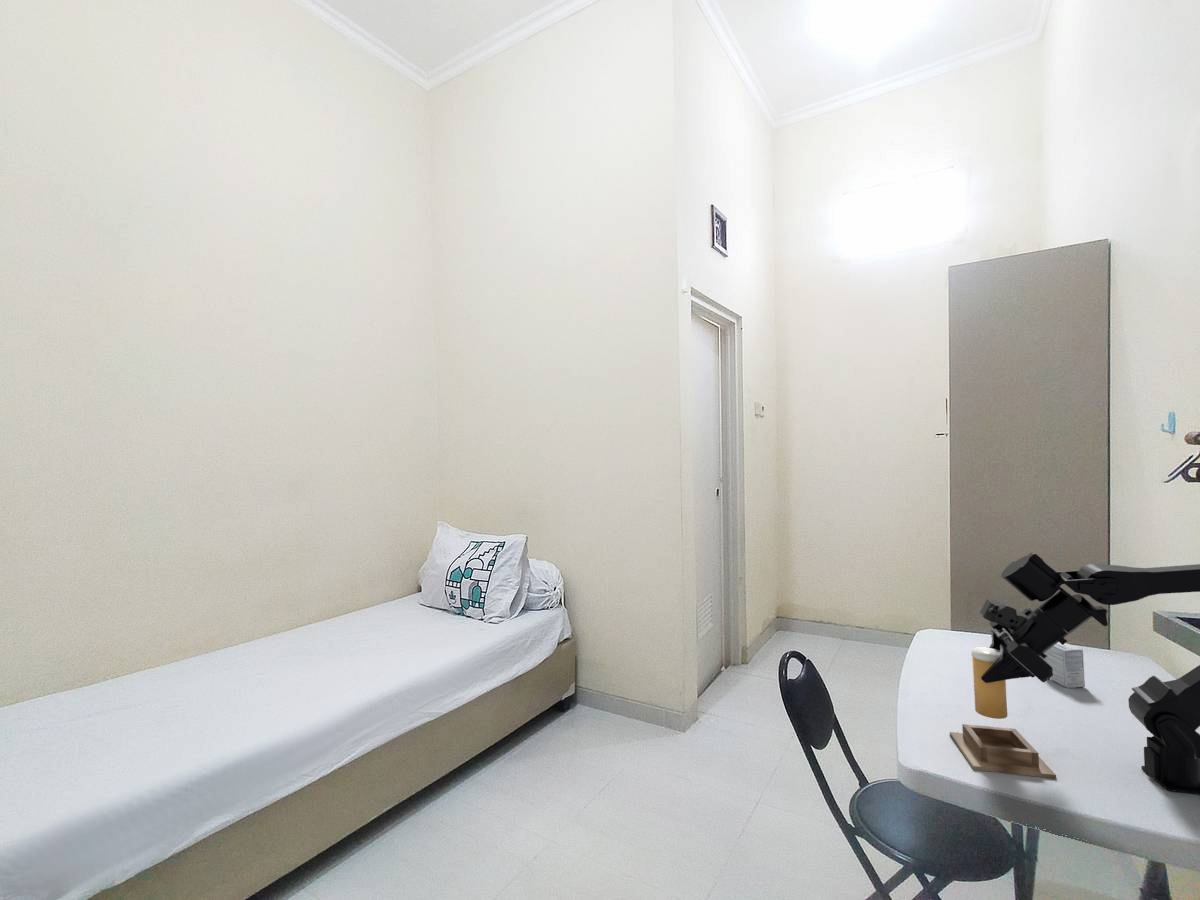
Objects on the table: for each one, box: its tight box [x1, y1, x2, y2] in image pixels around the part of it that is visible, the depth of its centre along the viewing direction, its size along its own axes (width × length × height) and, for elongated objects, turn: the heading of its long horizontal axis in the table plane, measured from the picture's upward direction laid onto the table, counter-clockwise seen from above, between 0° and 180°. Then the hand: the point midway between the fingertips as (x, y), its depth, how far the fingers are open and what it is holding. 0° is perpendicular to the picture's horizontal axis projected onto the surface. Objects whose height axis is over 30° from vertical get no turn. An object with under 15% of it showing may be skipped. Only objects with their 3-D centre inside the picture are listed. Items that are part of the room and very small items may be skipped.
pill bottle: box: [971, 646, 1008, 720], centre depth 101 cm, size 5×5×11 cm
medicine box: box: [1044, 642, 1086, 689], centre depth 129 cm, size 8×4×9 cm, turn 179°
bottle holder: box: [949, 723, 1057, 779], centre depth 99 cm, size 12×12×3 cm
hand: (980, 675), depth 101 cm, fingers closed on pill bottle, 5 cm apart
